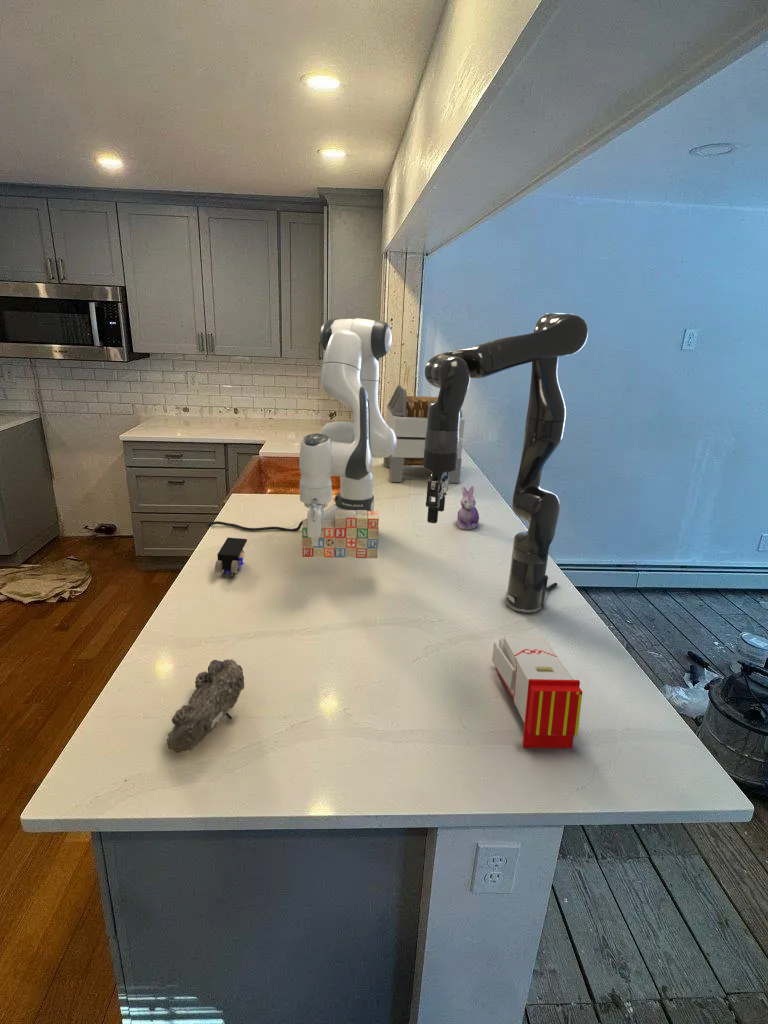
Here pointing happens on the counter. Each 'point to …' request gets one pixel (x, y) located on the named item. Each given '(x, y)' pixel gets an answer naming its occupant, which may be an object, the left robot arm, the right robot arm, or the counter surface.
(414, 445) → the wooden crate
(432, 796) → the counter surface
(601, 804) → the counter surface
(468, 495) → the figurine
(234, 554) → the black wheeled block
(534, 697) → the toy
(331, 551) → the stack of blocks
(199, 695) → the fossil
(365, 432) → the left robot arm
